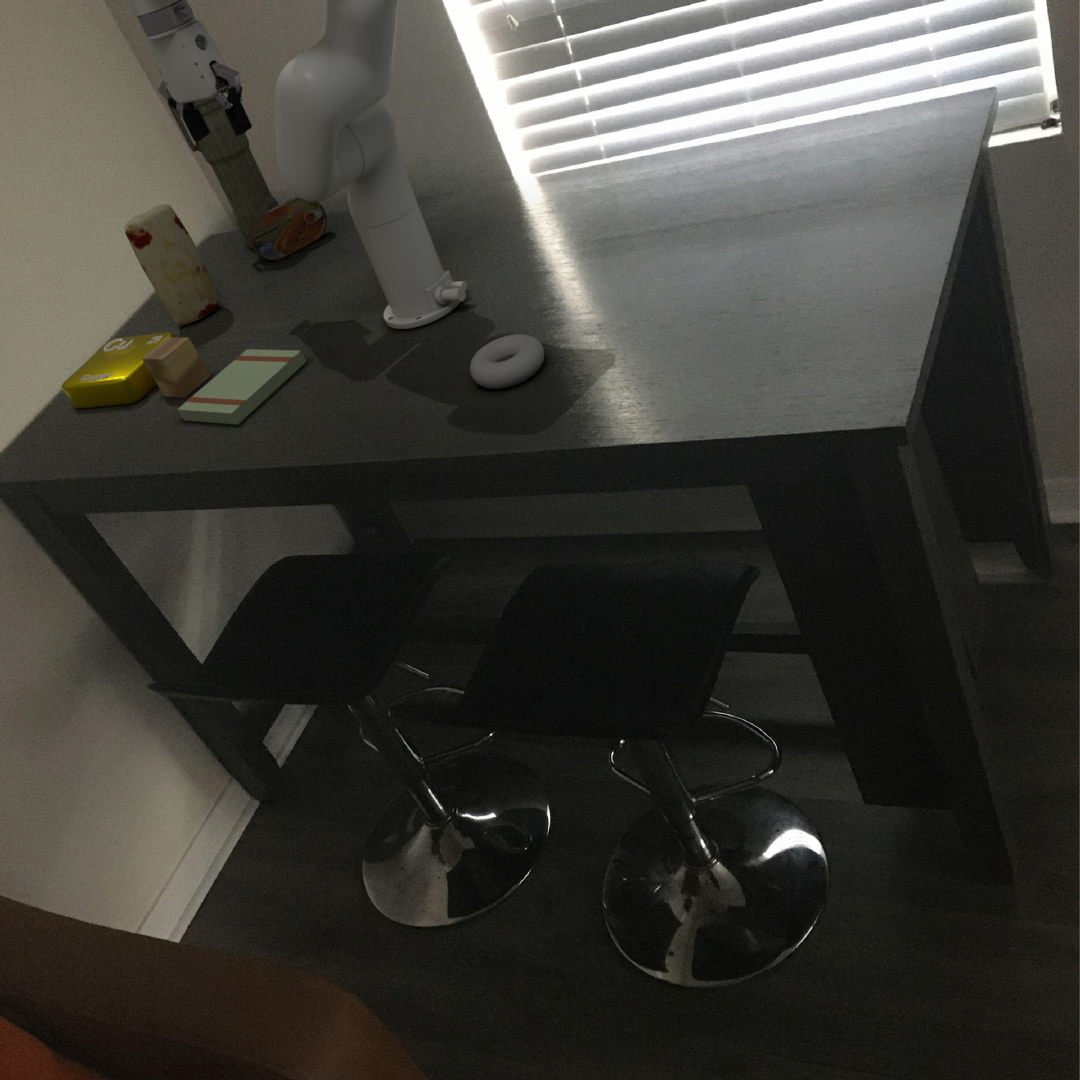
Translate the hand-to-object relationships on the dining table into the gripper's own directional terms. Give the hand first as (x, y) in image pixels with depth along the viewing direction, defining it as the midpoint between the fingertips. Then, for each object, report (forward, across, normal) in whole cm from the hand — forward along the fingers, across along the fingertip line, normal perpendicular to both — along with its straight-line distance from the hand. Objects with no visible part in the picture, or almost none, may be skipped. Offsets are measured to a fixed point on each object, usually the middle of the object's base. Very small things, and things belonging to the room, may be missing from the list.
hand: (223, 134), depth 166 cm
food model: (+28, +20, +6) cm, 35 cm away
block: (+28, +2, +27) cm, 39 cm away
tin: (+28, +17, -18) cm, 38 cm away
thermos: (+28, +29, -23) cm, 47 cm away
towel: (+28, -12, +27) cm, 41 cm away
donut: (+28, -56, +20) cm, 66 cm away
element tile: (+28, +18, +26) cm, 42 cm away
